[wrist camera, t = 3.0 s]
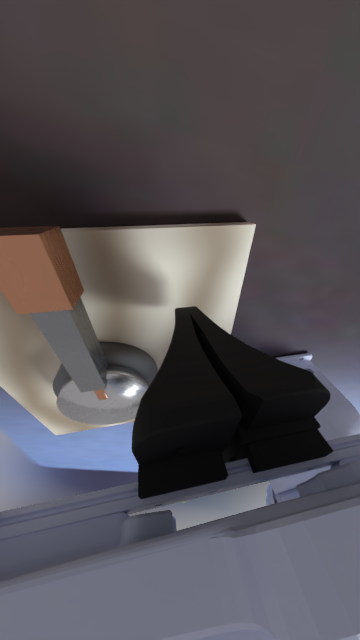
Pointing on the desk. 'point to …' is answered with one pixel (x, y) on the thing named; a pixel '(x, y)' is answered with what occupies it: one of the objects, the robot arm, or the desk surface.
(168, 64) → the desk surface
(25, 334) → the board
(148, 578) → the robot arm
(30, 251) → the frying pan
